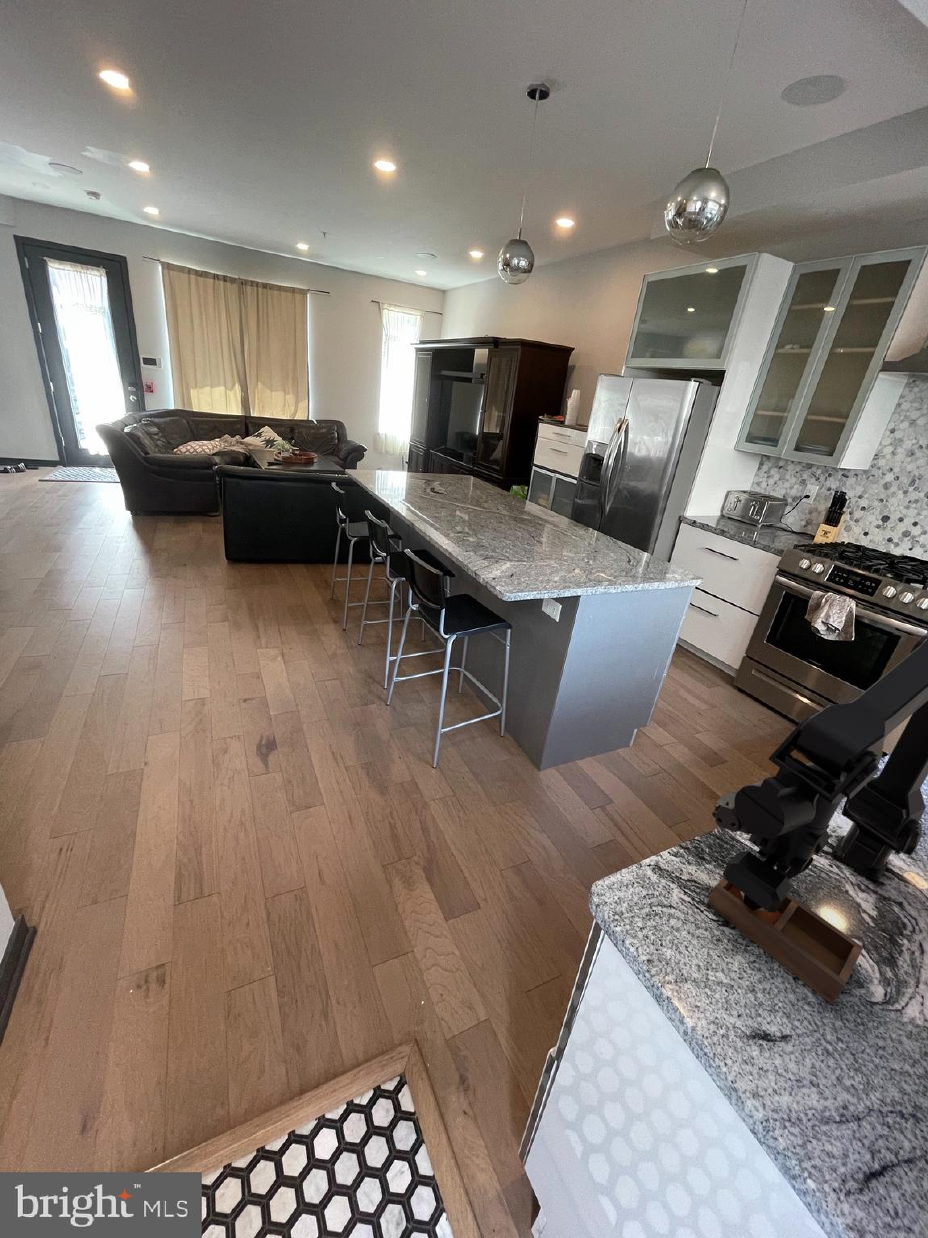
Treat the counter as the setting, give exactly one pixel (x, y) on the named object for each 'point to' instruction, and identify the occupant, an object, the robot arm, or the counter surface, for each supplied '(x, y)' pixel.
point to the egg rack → (793, 939)
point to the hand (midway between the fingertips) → (755, 899)
